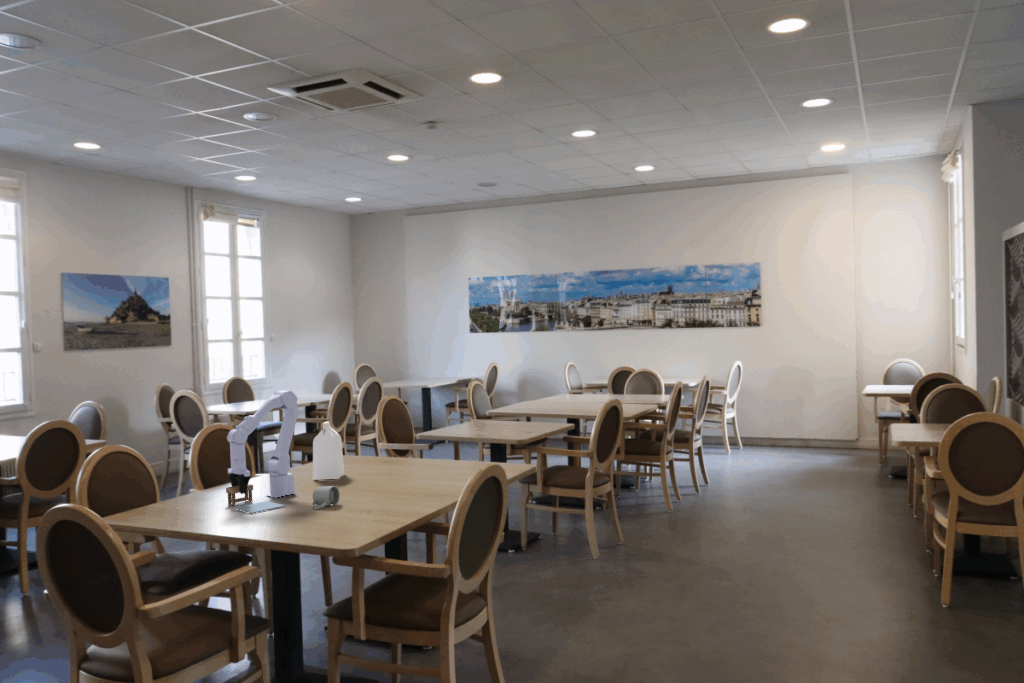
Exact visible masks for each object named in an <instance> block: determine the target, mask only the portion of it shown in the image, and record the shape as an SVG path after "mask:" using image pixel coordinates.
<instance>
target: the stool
mask: <svg viewBox="0 0 1024 683" xmlns="http://www.w3.org/2000/svg"><path fill="white" fill-rule="evenodd" d="M253 491H254V484H249V483H248V486H247V491H246V493H244V497H239V498H236V494H241V493H240V489H239V485H237V486H232V485H231V486H228V487H225V493H226V494H227V504H231V503H232V505H235V504H237V503H240V502H245V501H246V500H248V502H249V501H250V502H251V501H252V502H253ZM250 502H249V503H250ZM252 502H251V503H252ZM232 505H231V506H232Z"/></svg>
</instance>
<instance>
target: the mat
mask: <svg viewBox="0 0 1024 683" xmlns="http://www.w3.org/2000/svg"><path fill="white" fill-rule="evenodd" d="M283 506H285V507H286V505H285V504H281V503H276V502H272V501H268V500H264V501H262V502H256V503H251V504H247V505H242V506H237V507H234V508H235V509H238V510H242V511H245V512H249V513H255V514H257V513H256V512H260V513H262V512H261V511H264V512H266V511H265V510H269V511H271V510H270V509H273V510H275V509H274V508H278V507H282V508H284V507H283ZM278 509H279V508H278ZM245 512H244V513H245ZM249 513H248V514H249Z"/></svg>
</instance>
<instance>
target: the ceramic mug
mask: <svg viewBox="0 0 1024 683" xmlns="http://www.w3.org/2000/svg"><path fill="white" fill-rule="evenodd" d="M340 496H341V495H340V490H339V488H338V486H335V485H331V486H330V485H328V486H319V487H316V488H315V489H314V490H313V493H312V500H313V501H312V503H311V506H312V508H313V509H314V508H317V509H316V510H319V509H318V508H321V509H324V508H325V507H335V506H334V505H336V504H337V505H338V504H339V501H340ZM331 504H333V505H331Z"/></svg>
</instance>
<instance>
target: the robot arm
mask: <svg viewBox="0 0 1024 683" xmlns="http://www.w3.org/2000/svg"><path fill="white" fill-rule="evenodd" d="M276 408H280V410H282V412H283V414H284V415H283V419H282V423H281V427H280V430H279V435H278V438H277V442H276V445H275V448H274V450H273V452H272V453H271V455H270V457H269V459H268V460H267V462H266V465H265V466H266V471H268V472H269V490H270V491H269V492H270V493H269V494H266V497H268V496H270V497H269V498H273V497H274V499H278V498H277V497H280V498H282V497H281V496H284V497H286V496H285V495H289V496H291V495H290V494H294V495H296V494H295V493H296V490H295V485H296V484H295V476H294V475H293V473H291V472H290V470H291V464H290V460H291V456H290V454H289V450H290V447H291V443H292V439H293V435H294V432H295V427H296V423H297V421H298V420H297V419H298V416H299V407H298V397H297V395H296V393H295V392H293V391H292V390H281V389H278V390H275V391H274V392H273V394H271V395H270V396H269V397H268V398H267V400H266V401H265V402H264V403H263V404H262V405H261V406H260V407H259V408H258V410H256V411H255V413H254V414H253V415H252V414H250V415H247V416H244V418H243V421H241V422H240V423H239V424H237V425H236V426H235V428H234V429H231V430H230V431H229V432H228V434H227V436H226V440H227V442H228V443H229V450H230V451H229V452H230V456H229V457H230V468H227V474H228V475H227V476H226V477H227V479H228V481H229V482H230V484H231V487H232V486H237V485H239V489H240V493H239V494H240V495H245V493H246V491H247V486H248V484H249V482H250V480H251V478H252V475H251V471H250V470H248V468H247V460H246V442H247V441H248V436H249V435H251V434H252V433H253V432H254V431H255V430H256V429H257V428H258V427H259V426H260V421H261V420H262V419H263V418H264V417H265V416H266V415H267V414H269V413H270V412H271V411H272V410H273V409H276Z"/></svg>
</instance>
